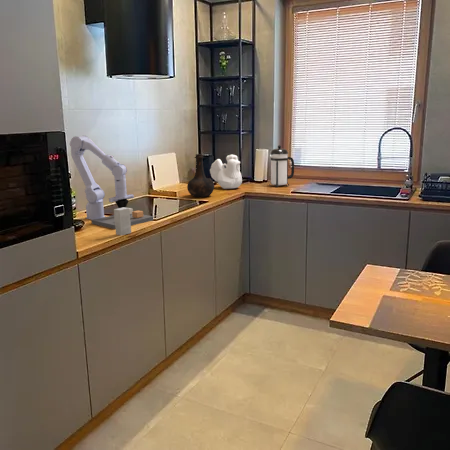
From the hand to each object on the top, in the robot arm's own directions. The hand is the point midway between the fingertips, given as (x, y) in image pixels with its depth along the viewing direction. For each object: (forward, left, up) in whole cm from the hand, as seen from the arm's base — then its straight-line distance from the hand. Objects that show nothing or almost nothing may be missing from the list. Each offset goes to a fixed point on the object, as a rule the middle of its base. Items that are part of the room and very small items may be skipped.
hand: (122, 213), depth 244 cm
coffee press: (+6, +140, -3) cm, 140 cm away
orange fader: (+10, +2, -1) cm, 10 cm away
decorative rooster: (-21, +110, -3) cm, 112 cm away
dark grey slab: (+5, -4, -3) cm, 7 cm away
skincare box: (+25, -19, -3) cm, 32 cm away
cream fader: (0, +3, -1) cm, 3 cm away
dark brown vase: (-13, +74, -3) cm, 75 cm away
